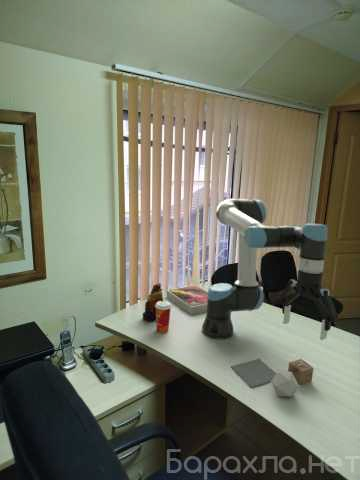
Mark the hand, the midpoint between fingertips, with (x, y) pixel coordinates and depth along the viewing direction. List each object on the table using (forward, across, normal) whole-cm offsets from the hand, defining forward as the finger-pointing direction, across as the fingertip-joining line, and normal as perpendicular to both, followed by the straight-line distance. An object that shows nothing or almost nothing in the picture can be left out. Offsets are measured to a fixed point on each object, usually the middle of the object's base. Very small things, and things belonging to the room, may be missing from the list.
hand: (303, 330), depth 102 cm
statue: (+22, -76, -14) cm, 80 cm away
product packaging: (+22, -81, +19) cm, 86 cm away
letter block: (+23, -3, +7) cm, 24 cm away
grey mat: (+23, -15, -4) cm, 28 cm away
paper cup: (+22, -62, -16) cm, 68 cm away
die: (+23, -2, -5) cm, 24 cm away
